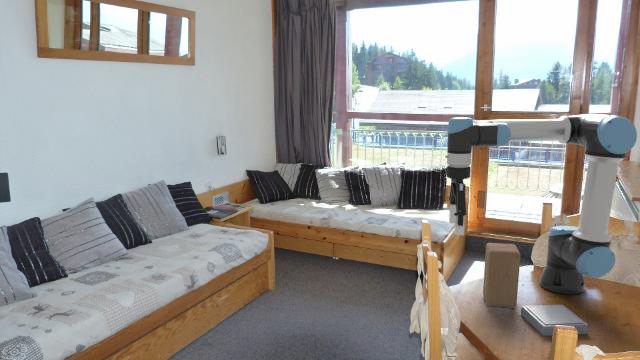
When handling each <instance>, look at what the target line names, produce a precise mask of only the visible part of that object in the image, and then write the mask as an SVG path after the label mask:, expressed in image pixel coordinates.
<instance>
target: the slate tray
mask: <svg viewBox="0 0 640 360" xmlns="http://www.w3.org/2000/svg"><path fill="white" fill-rule="evenodd" d="M520 315H521V316H522V317H523V319H525V321H527V322H528V323H529V324H530V325H531V326H532V327H533V328H534V329H536V330H537V332H538V333H540V335H541V336H543V337H545V336H547V337H549V336H553V335H552V333H553V326H554V325H568V326H574V327H575V328H576V329H577V331H578V334H577V335H587V334H588V332H589V324H588V323H587V322H586V321H584V320H583V319H582V318H580V317H579V316H578V315H577V314H575V313H574V312H572V311H571V309H569V308H568V307H567V306H565V305H564V304H545V305H544V304H542V305H541V304H540V305H539V304H538V305H521V310H520Z"/></svg>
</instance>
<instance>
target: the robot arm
mask: <svg viewBox="0 0 640 360" xmlns="http://www.w3.org/2000/svg"><path fill="white" fill-rule="evenodd" d="M446 132H447V150H446V152H447V155H445V156H444V158H445V159H446V164H447V166H446V174H445V175H446V177H447V178H448V179H450V180H451V181H450V187H449V188H450V190H449V198H448V200H449V215H448V216H449V220H448V221H449V224H454V235H455V236H465V219H466V218H465V217H466V215H467V206H466V205H467V204H466V203H467V201H466V187H467V186H466V183H464V180H467V179H470V177H471V170H472V169H471V165H472V149H473V147H474V148H477V147H480V148H481V147H482V148H483V147H489V148H491V147H492V148H493V147H495V148H498V147H505V146H507V145H508V144H509V143H510V142H550V141H551V142H555V141H556V142H558V143H560V144H570V145H576V146H581V147H585V149H584V150H585V151H584V156H585V157H586V158H587V160H588V163H587V164H588V165H587V171H586V177H585V182H584V189H583V194H582V196H583V197H582V203H581V208H580V215H579V222H578V226H571V225H558V226H557V225H555V226H552V227H550V229H549V230H548V231H549V232H548V236H547V237H548V242H547V254H546V263H545V266H544V268H543V270H542V273H541V274H540V276H539V285H540V286H541V287H542V288H544V289H545V290H547V291H550V292H553V293H556V294H561V295H579V294H582V293H583V292H585V286H586V285H585V279H584V277H583V276H585V277H587V278H591V279H599V278H603V277H605V276H606V275H608V274H610V272H611V271H612V270H613V268H614V267H615V264H616V254H615V253H614V252H613V250H612V249H611V242H612V238H611V237H610V236H609V235H608V230H609V224H610V223H609V222H610V218H611V217H610V216H611V212H612V211H611V210H612V206H613V199H614V193H615V187H616V180H617V175H618V169H619V164H620V163H621V162H622V161H624V160H625V159H626V154H627V152H629V151H631V149H632V148H634V146H636V143H637V139H638V131H637V128H636V125H635V124H634V123H633V122H632V121H631V120H630V119H628V118H627V117H624V116H620V115H617V114H602V113H584V114H575V115H562V116H560V117H559V118H545V119H539V118H537V119H532V118H531V119H484V120H483V119H482V120H481V119H480V120H478V119H473V118H472V117H466V116H465V117H464V116H463V117H462V116H460V117H459V116H458V117H457V116H456V117H451V118H450V119H448V124H447V131H446Z"/></svg>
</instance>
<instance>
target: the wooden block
mask: <svg viewBox="0 0 640 360" xmlns="http://www.w3.org/2000/svg"><path fill="white" fill-rule="evenodd" d="M484 256H485V257H484V269H483V270H484V272H483V287H482V288H483V289H482V295H483V298H484V299H483V300H484V302H485V305H486V306H488V307H495V308H496V307H499V308H510V309H515V308H516V307H517V305H518V293H519V291H518V289H519V282H520V281H519V278H520V267H521V253H520V251H519V249H518V247H517V246H516V245H515V244H514V243H501V242H499V243H498V242H487V243H486V244H485V255H484Z"/></svg>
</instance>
